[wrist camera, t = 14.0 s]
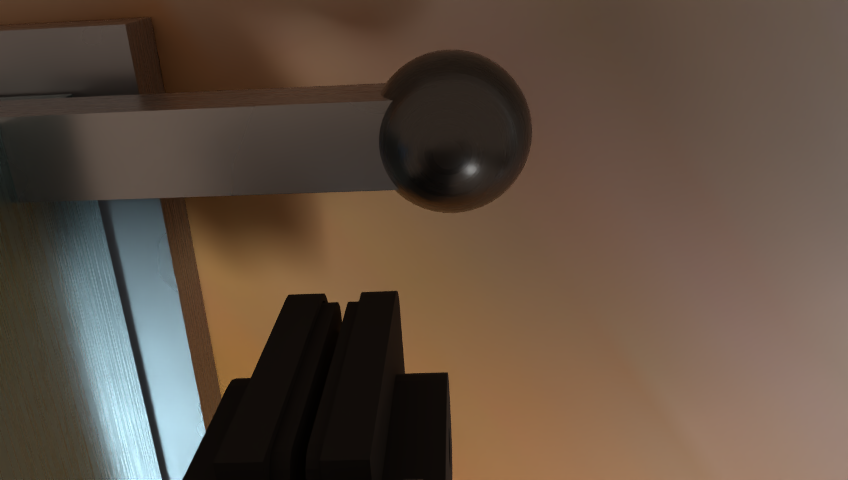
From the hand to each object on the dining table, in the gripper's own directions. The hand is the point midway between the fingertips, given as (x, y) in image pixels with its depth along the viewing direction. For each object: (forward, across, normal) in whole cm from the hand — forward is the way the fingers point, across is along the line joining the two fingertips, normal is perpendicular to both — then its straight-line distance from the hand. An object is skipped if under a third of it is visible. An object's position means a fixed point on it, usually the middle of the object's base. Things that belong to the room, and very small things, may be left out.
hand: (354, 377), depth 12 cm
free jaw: (+2, +2, 0) cm, 3 cm away
